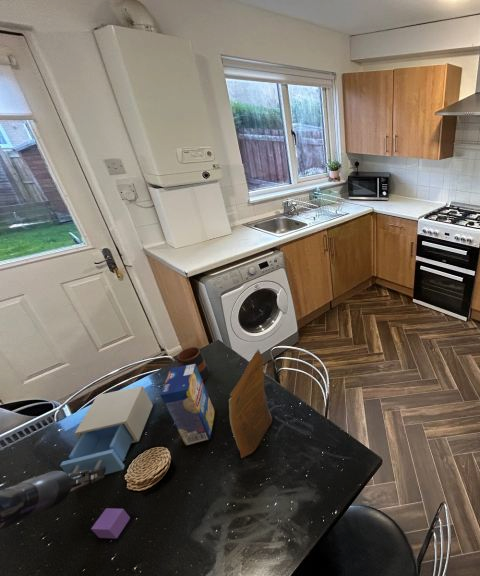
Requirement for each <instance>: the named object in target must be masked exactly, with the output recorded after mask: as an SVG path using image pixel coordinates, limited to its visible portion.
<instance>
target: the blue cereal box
mask: <svg viewBox="0 0 480 576" xmlns="http://www.w3.org/2000/svg"><path fill="white" fill-rule="evenodd" d="M175 367H176V366H175ZM175 367H172V368H171V367H170V369H169V371H168V374H167V376H166V379H165V382H164V384H163V387H162V389H161V392H160V394H159V396H160V398H161V400H162V401H163V404H164V405H165V407H166V409H167V412H168V413H169V415H170V417H171V419H172V421H173V424H174V425H175V428H176V430H177V431H178V433H179V436H180V437H181V439H182V441H183V443H184V445H185V446H189V445H193V444H196V443H200V442H204V441H208V440H211V436H212V431H213V425H214V419H215V412H216V411H215V408H214V406H213V403H212V401H211V399H210V397H209V393H208V391H207V389H206V388H207V387H206V386H205V383H204V380H203V381H202V378H201V376H200V373H199V371H198V368H197V366H196V363H195V364H190V365H185V366H181V367H176V368H175Z"/></svg>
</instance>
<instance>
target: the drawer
mask: <svg viewBox="0 0 480 576" xmlns="http://www.w3.org/2000/svg"><path fill="white" fill-rule="evenodd" d="M132 440H133V437H132V436H131V434H130V432H129V431H128V429H127V428H126V426H125V424H120V425H116V426H112V427H108V428H103V429H99V430H95V431H90V432H86V433H82V435H81V436H80V438H79V439H78V440H77V442H76V443H75V445H74V447H73V449H72V450H71V452H70V454H69V455H68V458H69V459H67V460H64V461H62V462H61V463H60V465H59V467H60V468H61V469H62V471H63V472H66V473H67V474H71V473H77V472H80V471H83V470H89V471H90V470H93V469H94V468H98V467H101V466H105V467H106V473H105V475H108V474H112V473H117V472H119V471H123V470H124V469H125V464H124V463H123V462H124V461H125V459H126V457H127V455H128V452H129V449H130V447H131V444H132V443H131V442H132ZM79 475H80V476H81V474H79Z"/></svg>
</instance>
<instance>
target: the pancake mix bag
mask: <svg viewBox="0 0 480 576" xmlns="http://www.w3.org/2000/svg"><path fill="white" fill-rule="evenodd" d="M265 382H266V381H265V373H264V359H263V357H262V353H261V351H260V349H259V348H258V349H257V350H256V352H255V353H254V355H253V356H252V358H251V359H250V361H249V363H248V364H247V366H246V368H245V370H244V372H243V374H242V375H241V377H240V378H239V380H238V382H237V383H236V384H235V386H234V387H233V389H232V390H231V392H230V393H229V396H230V397H229V399H228V411H229V412H228V413H229V414H228V415H229V425H230V427H231V432H232V434H233V437H234V440H235V443H236V446H237V449H238V451H239V454H240V458H241V459H243V458H245V457H247V456H249V455H251V454H252V453H254V452H255V451H256V450H257V448H258V446H259V445H260V444H261V442H262V440H263V438H264V437H265V434H266V433H267V431H268V429H269V428H270V426H271V425H272V423H273V417H272V414H271V412H270V410H269V405H268V400H267V396H266V392H265Z"/></svg>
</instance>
